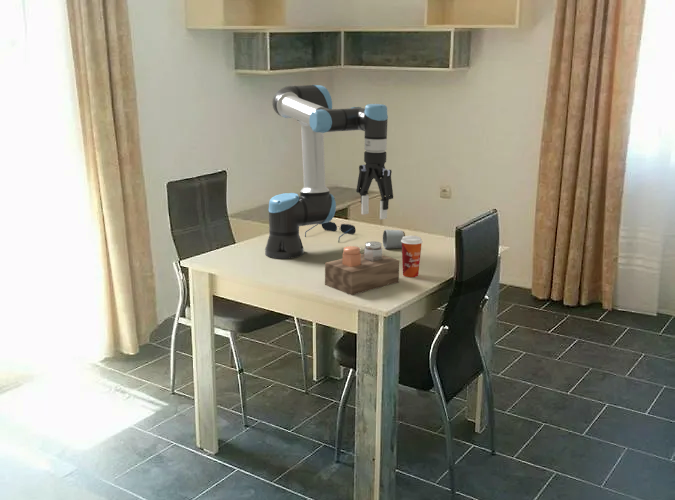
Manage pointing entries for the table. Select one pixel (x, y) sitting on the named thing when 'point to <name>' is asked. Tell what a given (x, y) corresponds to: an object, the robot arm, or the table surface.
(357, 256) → the terracotta button
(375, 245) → the grey button
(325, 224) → the sunglasses
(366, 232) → the table surface
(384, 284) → the button console
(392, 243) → the ceramic mug
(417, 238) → the paper cup
